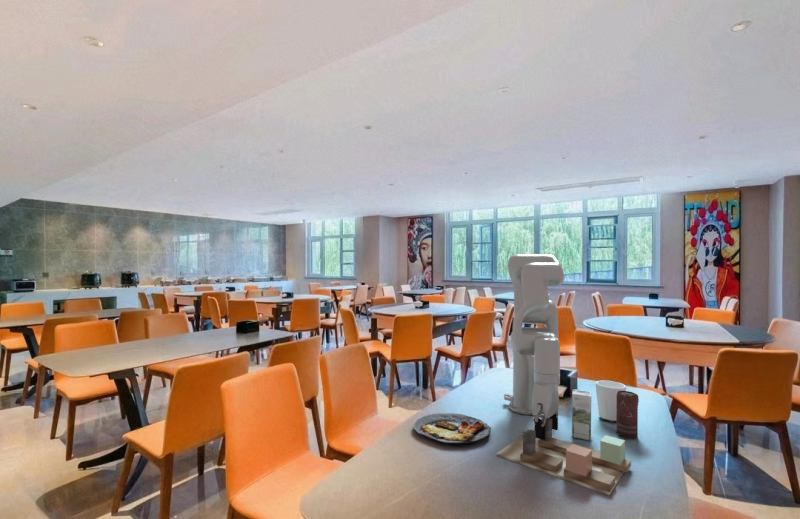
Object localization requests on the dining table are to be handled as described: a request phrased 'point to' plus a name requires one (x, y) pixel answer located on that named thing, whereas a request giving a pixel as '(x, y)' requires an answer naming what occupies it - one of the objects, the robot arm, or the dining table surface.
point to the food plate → (452, 428)
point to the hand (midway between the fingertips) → (546, 433)
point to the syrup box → (581, 414)
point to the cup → (608, 398)
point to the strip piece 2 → (593, 479)
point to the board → (516, 449)
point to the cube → (612, 449)
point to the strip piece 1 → (537, 453)
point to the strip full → (564, 445)
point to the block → (579, 460)
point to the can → (627, 415)
